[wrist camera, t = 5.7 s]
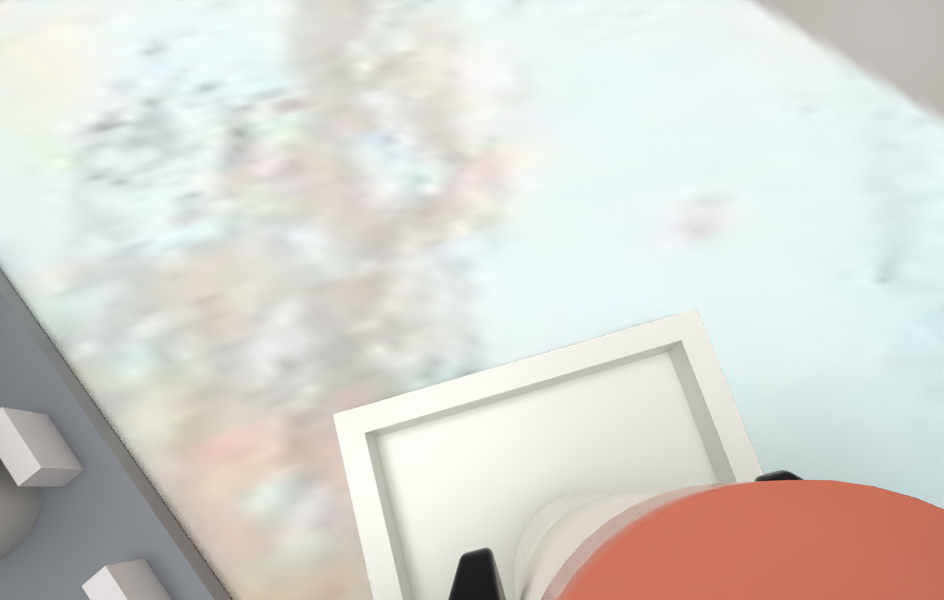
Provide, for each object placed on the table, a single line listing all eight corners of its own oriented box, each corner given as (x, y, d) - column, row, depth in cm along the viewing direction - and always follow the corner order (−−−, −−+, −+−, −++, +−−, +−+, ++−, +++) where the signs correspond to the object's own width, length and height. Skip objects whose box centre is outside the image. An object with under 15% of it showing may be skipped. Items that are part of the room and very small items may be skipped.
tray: (819, 695, 19) (865, 725, 16) (440, 814, 18) (430, 862, 16) (675, 328, 22) (696, 308, 20) (352, 422, 22) (333, 414, 19)
